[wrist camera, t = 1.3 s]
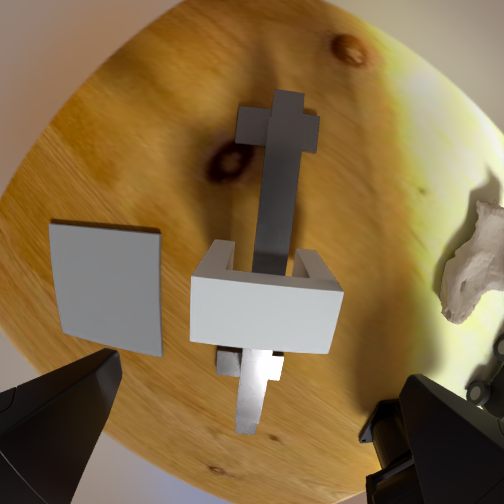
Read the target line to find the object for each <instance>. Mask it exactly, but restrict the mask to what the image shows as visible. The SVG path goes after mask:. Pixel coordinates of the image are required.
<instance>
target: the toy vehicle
mask: <svg viewBox="0 0 504 504" xmlns="http://www.w3.org/2000/svg"><path fill="white" fill-rule="evenodd" d="M494 355H495V357H496V358H497V360H499V361H504V334H502V335H501V336H500V337H499V338H498V339H497V341H496V343H495V345H494ZM466 399H467V401H468V402H470V403H472V404H473V405H475V406H480V405H481V407H482V408H483V410H484V411H486V412H487V413H489V414H491V415H493V416H494V417H496V418H497V419H500V420H502V421H503V422H504V364H503V366H502V367H501V369H500V370H499V372H498V374H497V375H496V377H495V378H494V380H493V381H492V383H491V384H489V383H488V382H486V381H475V382H473V383H472V384H471V385H470V386H469V388H468V390H467V394H466Z"/></svg>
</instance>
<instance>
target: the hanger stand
mask: <svg viewBox="0 0 504 504" xmlns="http://www.w3.org/2000/svg"><path fill="white" fill-rule="evenodd" d="M304 95H305V93H299V92H292V91H285V90H277V89H275V90H274V95H273V101H272V106H271V109H265V108H256V107H244V106H239V112H238V121H237V130H236V139H235V144H243V145H253V146H263V147H265V155H264V164H263V173H262V182H261V191H260V200H259V209H258V218H257V227H256V236H255V245H254V254H253V263H252V273H262V274H271V275H281V276H285V273H286V266H287V259H288V252H289V245H290V238H291V231H292V224H293V216H294V209H295V201H296V193H297V185H298V176H299V168H300V159H301V151H302V152H308V153H316V151H317V141H318V131H319V121H320V116H315V115H309V114H303V106H304ZM283 359H284V353H282V352H273V351H270V350H259V349H249V348H243V349H238V348H229V347H221V346H218V351H217V369H216V374H219V375H227V376H235V377H240V378H239V386H238V395H237V404H236V414H235V422H236V429H235V433H239V434H251V435H255V431H256V426H257V423H258V424H259V420H260V415H261V410H262V405H263V400H264V395H265V389H266V384H267V379H268V380H279V378H280V373H281V369H282V364H283Z"/></svg>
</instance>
